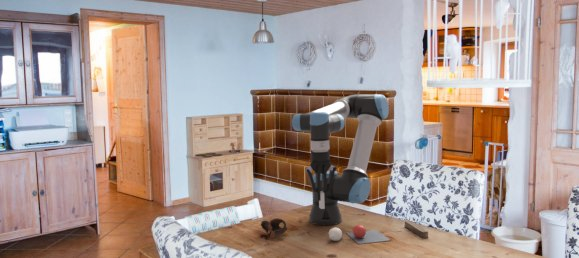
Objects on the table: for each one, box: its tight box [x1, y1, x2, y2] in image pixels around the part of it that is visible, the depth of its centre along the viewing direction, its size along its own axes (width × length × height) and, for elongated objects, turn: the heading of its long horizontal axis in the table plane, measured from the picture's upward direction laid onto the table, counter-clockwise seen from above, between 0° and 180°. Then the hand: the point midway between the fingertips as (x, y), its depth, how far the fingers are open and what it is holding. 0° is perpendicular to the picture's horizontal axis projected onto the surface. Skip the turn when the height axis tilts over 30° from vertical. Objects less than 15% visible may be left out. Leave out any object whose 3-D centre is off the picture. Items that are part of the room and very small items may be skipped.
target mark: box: [346, 229, 391, 245], centre depth 199 cm, size 14×14×1 cm
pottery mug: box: [260, 217, 289, 239], centre depth 204 cm, size 12×10×8 cm
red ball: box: [352, 224, 367, 238], centre depth 197 cm, size 6×6×6 cm
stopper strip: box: [404, 220, 429, 239], centre depth 203 cm, size 2×16×2 cm, turn 13°
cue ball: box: [328, 227, 343, 242], centre depth 195 cm, size 6×6×6 cm
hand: (321, 207), depth 193 cm, fingers closed
